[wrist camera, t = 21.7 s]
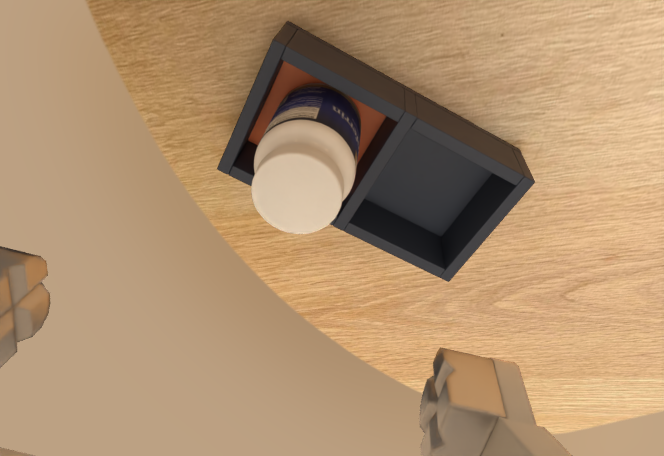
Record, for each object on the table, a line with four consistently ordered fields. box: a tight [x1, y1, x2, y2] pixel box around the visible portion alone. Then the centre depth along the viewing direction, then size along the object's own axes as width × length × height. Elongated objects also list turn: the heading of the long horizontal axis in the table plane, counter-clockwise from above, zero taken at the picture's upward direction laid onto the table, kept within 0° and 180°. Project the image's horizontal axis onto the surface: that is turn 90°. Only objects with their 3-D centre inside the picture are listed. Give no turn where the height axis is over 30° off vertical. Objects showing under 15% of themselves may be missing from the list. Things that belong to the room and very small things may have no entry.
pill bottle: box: [251, 83, 361, 234], centre depth 30 cm, size 6×6×10 cm
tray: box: [217, 21, 535, 282], centre depth 34 cm, size 17×9×5 cm, turn 63°
